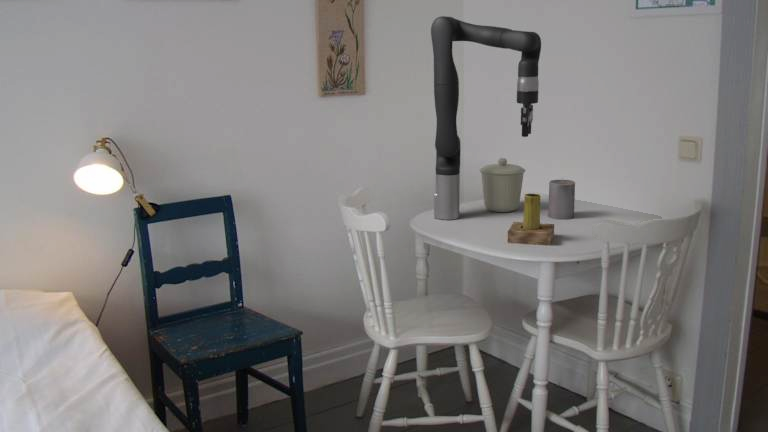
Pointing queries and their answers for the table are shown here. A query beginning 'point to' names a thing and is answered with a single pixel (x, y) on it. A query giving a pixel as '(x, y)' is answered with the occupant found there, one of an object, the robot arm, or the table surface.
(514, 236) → the socket block
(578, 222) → the table surface
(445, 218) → the robot arm
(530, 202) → the vase
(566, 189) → the pillar candle
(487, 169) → the canister
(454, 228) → the table surface
